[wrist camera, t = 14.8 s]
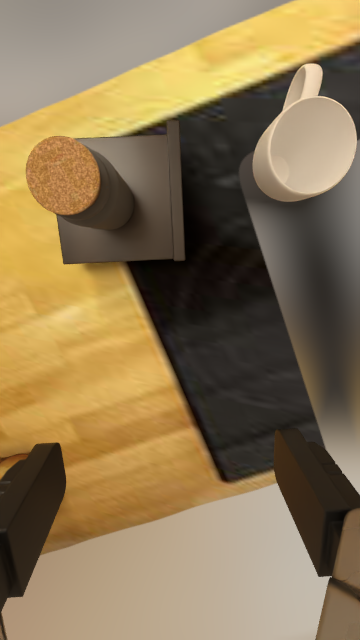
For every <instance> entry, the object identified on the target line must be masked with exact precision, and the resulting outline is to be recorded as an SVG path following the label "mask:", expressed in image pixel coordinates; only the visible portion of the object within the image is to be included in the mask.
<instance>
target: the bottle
mask: <svg viewBox="0 0 360 640" xmlns="http://www.w3.org/2000/svg"><path fill="white" fill-rule="evenodd" d="M26 178H27V183H28V186H29V189H30V191H31V193H32V195H33V196H34V198H35V199H36V200H37V201H38V202H39V203H40V204H41V205H42V206H43V207H44V208H46V209H47V210H49V211H51V212H53V213H55V214H56V215H58V216H60V217H62V218H63V219H64V220H66V221H68V222H70V223H72V224H75V225H78V226H82V227H89V228H96V229H103V230H113V229H117V228H119V227H121V226H123V225H124V224H126V223H127V221H128V220H129V219H130V217H131V215H132V213H133V208H134V199H133V195H132V192H131V190H130V188H129V186H128V185H127V183H126V182H125V181H124V179H123V178H122V177H121V176H120V174H119V173H118V172H117V170H116V169H115V168H114V167H113V165H112V164H111V163H110V162H109V161H108V160H107V159H106V158H105V157H104V156H103V155H101V154H100V153H98V152H96V151H94V150H92V149H90V148H88V147H87V146H85V145H83V144H82V143H80V142H78V141H77V140H75V139H72V138H69V137H65V136H54V137H50V138H47V139H44V140H43V141H41V142H40V143H38V144H37V145H36V146H35V147H34V149H33V150H32V151H31V153H30V155H29V158H28V161H27V165H26Z"/></svg>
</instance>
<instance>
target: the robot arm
mask: <svg viewBox="0 0 360 640" xmlns="http://www.w3.org/2000/svg"><path fill="white" fill-rule="evenodd" d="M274 472H275V477H276V480H277V483H278V485H279V488H280V490H281V492H282V495H283V497H284V499H285V501H286V504H287V505H288V508H289V511H290V513H291V515H292V517H293V520H294V522H295V524H296V526H297V529H298V531H299V533H300V535H301V537H302V540H303V542H304V544H305V547H306V549H307V551H308V554H309V556H310V558H311V560H312V562H313V565H314V567H315V569H316V572H317V574H318V576H319V577H323V576H332V578H331V577H330V579H329V582H328V586H327V590H326V595H325V599H324V604H323V608H322V613H321V617H320V621H319V626H318V631H317V635H316V639H315V640H360V495H359V494H358V492H357V491H356V490H355V488H354V487H353V486H352V484H351V483H350V481H349V480H348V479H347V478H346V476H345V475H344V474H342V471H341V469H340V468H339V467H338V465H337V464H335V461H334V460H333V459H332V457H331V456H330V455H329V453H328V452H327V451H326V450H325V449H323V448H322V447H321V446H319V445H318V444H316V443H315V442H307V441H306V440H305V439H304V437H303V436H302V434H301V433H300V431H299V430H298V429H297V428H295V429H278V430H276V432H275V447H274ZM65 489H66V475H65V469H64V463H63V457H62V451H61V446H60V444H59V443H42V444H36V445H35V446H34V448H33V449H32V451H31V452H30V454H29V455H28V457H27V458H26V459H22V460H19V461H18V462H17V463H15V464H14V465H13V466H12V467H11V468H9V469H8V470H7V471H6V473H5V474H4V475H3V477H2V478H1V480H0V640H7V636H6V632H5V626H4V622H3V617H2V613H1V611H2V609H3V606H4V604H5V602H6V600H7V598H10V597H22V596H23V595H24V592H25V590H26V587H27V585H28V582H29V580H30V577H31V575H32V573H33V570H34V568H35V565H36V563H37V560H38V558H39V556H40V553H41V551H42V548H43V546H44V543H45V541H46V538H47V536H48V534H49V531H50V529H51V526H52V524H53V521H54V519H55V516H56V514H57V512H58V509H59V507H60V504H61V502H62V499H63V497H64V494H65Z"/></svg>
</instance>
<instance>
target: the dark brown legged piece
mask: <svg viewBox="0 0 360 640" xmlns="http://www.w3.org/2000/svg"><path fill="white" fill-rule="evenodd" d="M75 140H77V141H78V142H80V143H82V144H83V145H85V146H87V147H88V148H90V149H92V150H94V151H96V152H98V153H100V154H101V155H103V156H104V157H105V158H106V159H107V160H108V161H109V162H110V163H111V164H112V165H113V167H114V168H115V169H116V170H117V172H118V173H119V174H120V176H121V177H122V178H123V179H124V181H125V182H126V183H127V185H128V186H129V188H130V190H131V192H132V195H133V199H134V208H133V213H132V215H131V217H130V219H129V220H128V221H127V223H126V224H124V225H123V226H121V227H119V228H117V229H113V230H103V229H96V228H89V227H82V226H78V225H75V224H72V223H70V222H68V221H66V220H64V219H63V218H62V217H60V216H58V215H57V222H58V229H59V236H60V243H61V250H62V257H63V264H81V263H100V262H120V261H140V260H160V259H174V261H185V241H184V217H183V194H182V170H181V146H180V123H179V120H174V121H167V135H147V136H123V137H100V138H76V139H75Z"/></svg>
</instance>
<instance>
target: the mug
mask: <svg viewBox="0 0 360 640" xmlns="http://www.w3.org/2000/svg"><path fill="white" fill-rule="evenodd" d="M322 75H323V73H322V68H321V67H320V66H319V65H317V64H305V65H303V66H302V67H300V68H299V70H298V71H297V73H296V74H295V76H294V78H293V80H292V83H291V85H290V88H289V91H288V94H287V97H286V100H285V104H284V107H283V111H282V112H281V113H280V114H279V115H278V117H277V118H276V119H275V120H274V121H273V122H272V123H271V125H270V126H269V127H268V128H267V129H266V131H265V132H264V133H263V135H262V136H261V138H260V140H259V142H258V144H257V146H256V149H255V152H254V156H253V164H252V167H253V175H254V179H255V181H256V183H257V185H258V187H259V188H260V190H261V191H262V192H263V193H265V194H266V195H267V196H269V197H270V198H272V199H275V200H278V201H283V202H293V201H299V200H303V199H307V198H310V197H314V196H317V195H319V194H322V193H324V192H326V191H328V190H330V189H331V188H333V187H334V186H335V185H336V184H338V183H339V182H340V181H341V180H342V179H343V177H344V176H345V175H346V173H347V172H348V170H349V168H350V167H351V164H352V162H353V160H354V156H355V153H356V146H357V134H356V129H355V125H354V122H353V120H352V118H351V116H350V114H349V113H348V111H347V110H346V109H345V108H344V107H343V106H342V105H341V104H340V103H338V102H337V101H335V100H333V99H330V98H327V97H322V96H318V93H319V89H320V86H321V82H322Z"/></svg>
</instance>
